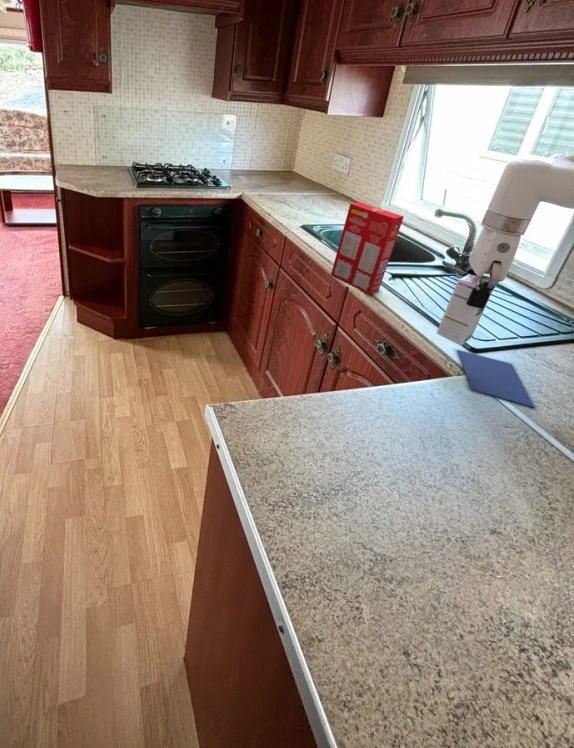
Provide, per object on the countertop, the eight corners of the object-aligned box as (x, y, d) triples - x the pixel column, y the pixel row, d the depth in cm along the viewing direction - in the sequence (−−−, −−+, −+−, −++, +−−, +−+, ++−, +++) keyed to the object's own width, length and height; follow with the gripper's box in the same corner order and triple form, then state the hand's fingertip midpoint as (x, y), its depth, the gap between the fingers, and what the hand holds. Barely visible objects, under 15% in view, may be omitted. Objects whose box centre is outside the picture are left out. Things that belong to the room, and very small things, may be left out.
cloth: (511, 364, 99) (511, 363, 99) (534, 408, 86) (534, 407, 86) (457, 350, 103) (457, 349, 103) (471, 390, 89) (471, 389, 89)
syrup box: (461, 346, 90) (488, 289, 84) (434, 333, 94) (458, 278, 88) (471, 338, 93) (497, 283, 87) (444, 326, 97) (468, 272, 91)
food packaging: (378, 290, 129) (403, 216, 118) (369, 294, 126) (394, 218, 115) (339, 272, 139) (359, 202, 128) (330, 275, 136) (350, 203, 125)
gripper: (542, 239, 73) (500, 321, 81) (512, 214, 88) (479, 286, 96) (495, 231, 75) (459, 311, 83) (474, 208, 90) (445, 278, 98)
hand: (470, 297), depth 89 cm, fingers closed on syrup box, 7 cm apart
